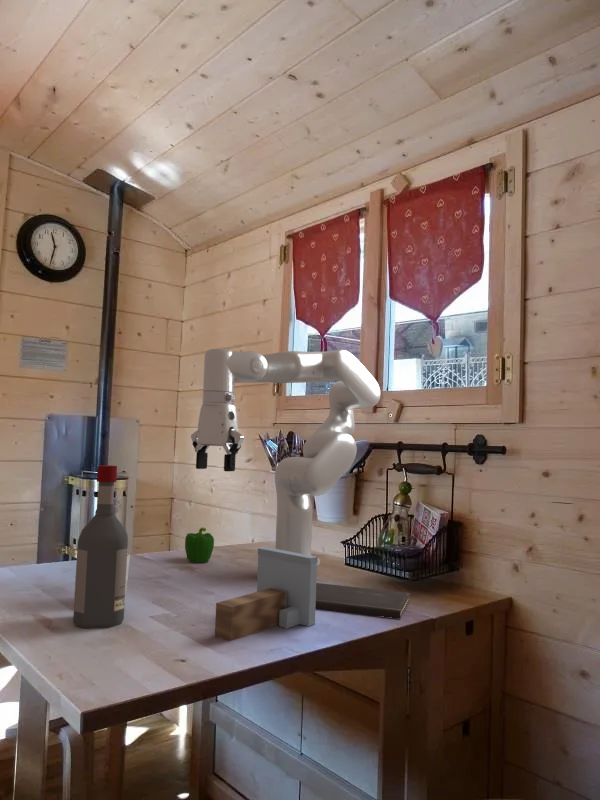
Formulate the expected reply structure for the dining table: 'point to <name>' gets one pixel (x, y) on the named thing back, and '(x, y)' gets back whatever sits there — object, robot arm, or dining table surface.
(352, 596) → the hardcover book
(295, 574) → the panel
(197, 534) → the bell pepper
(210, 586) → the dining table surface
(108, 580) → the liquor
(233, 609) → the brown wooden block
